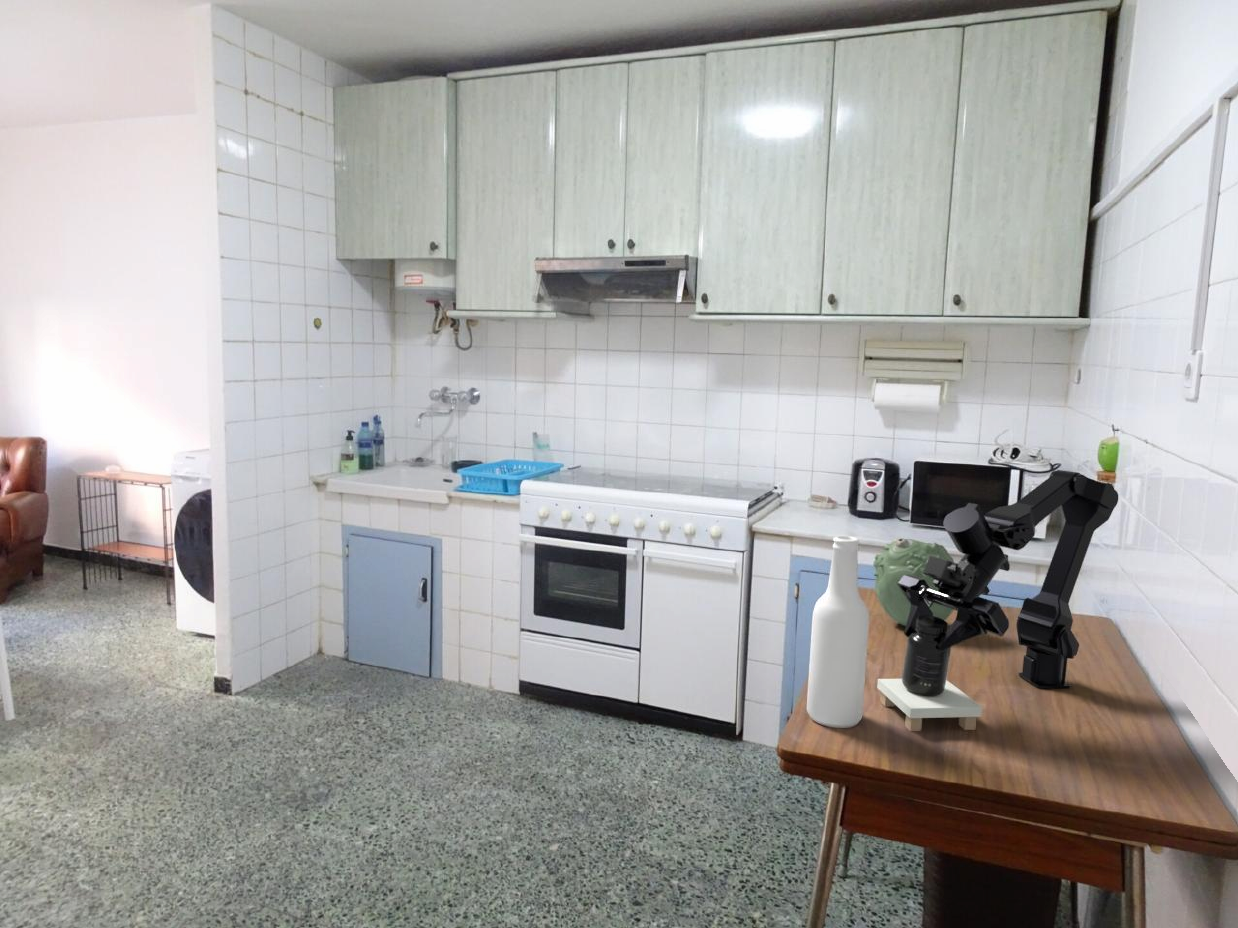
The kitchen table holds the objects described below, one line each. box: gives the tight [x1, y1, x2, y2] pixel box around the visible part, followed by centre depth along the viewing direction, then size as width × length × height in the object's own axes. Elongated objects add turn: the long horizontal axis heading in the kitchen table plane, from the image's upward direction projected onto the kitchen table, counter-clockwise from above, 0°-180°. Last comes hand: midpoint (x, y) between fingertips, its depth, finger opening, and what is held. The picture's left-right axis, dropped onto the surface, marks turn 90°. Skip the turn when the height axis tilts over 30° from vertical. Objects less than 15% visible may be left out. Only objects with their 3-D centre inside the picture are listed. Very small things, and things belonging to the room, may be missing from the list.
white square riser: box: [876, 678, 983, 732], centre depth 136 cm, size 12×12×4 cm
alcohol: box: [806, 535, 870, 729], centre depth 132 cm, size 9×9×30 cm
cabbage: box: [872, 538, 955, 628], centre depth 181 cm, size 16×19×20 cm
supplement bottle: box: [901, 615, 952, 696], centre depth 135 cm, size 7×7×12 cm
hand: (922, 641), depth 134 cm, fingers closed on supplement bottle, 6 cm apart
